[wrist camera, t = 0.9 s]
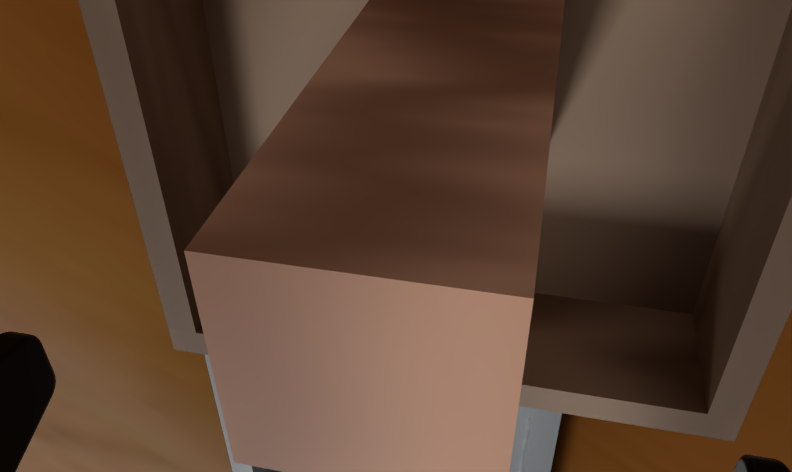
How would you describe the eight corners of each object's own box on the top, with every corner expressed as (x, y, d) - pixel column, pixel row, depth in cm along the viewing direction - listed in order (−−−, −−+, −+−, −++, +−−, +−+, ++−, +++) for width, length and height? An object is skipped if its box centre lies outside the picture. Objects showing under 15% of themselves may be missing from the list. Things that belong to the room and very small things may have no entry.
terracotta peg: (565, -9, 15) (534, 298, 8) (544, 154, 18) (503, 513, 10) (383, -20, 16) (183, 250, 8) (386, 138, 19) (233, 462, 11)
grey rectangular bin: (567, 339, 22) (564, 402, 20) (530, 535, 28) (525, 597, 26) (234, 290, 24) (201, 344, 22) (271, 484, 30) (248, 538, 28)
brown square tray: (943, -327, 12) (1071, -333, 9) (713, 327, 20) (734, 441, 17) (123, -314, 14) (-9, -317, 11) (231, 260, 23) (174, 349, 20)
